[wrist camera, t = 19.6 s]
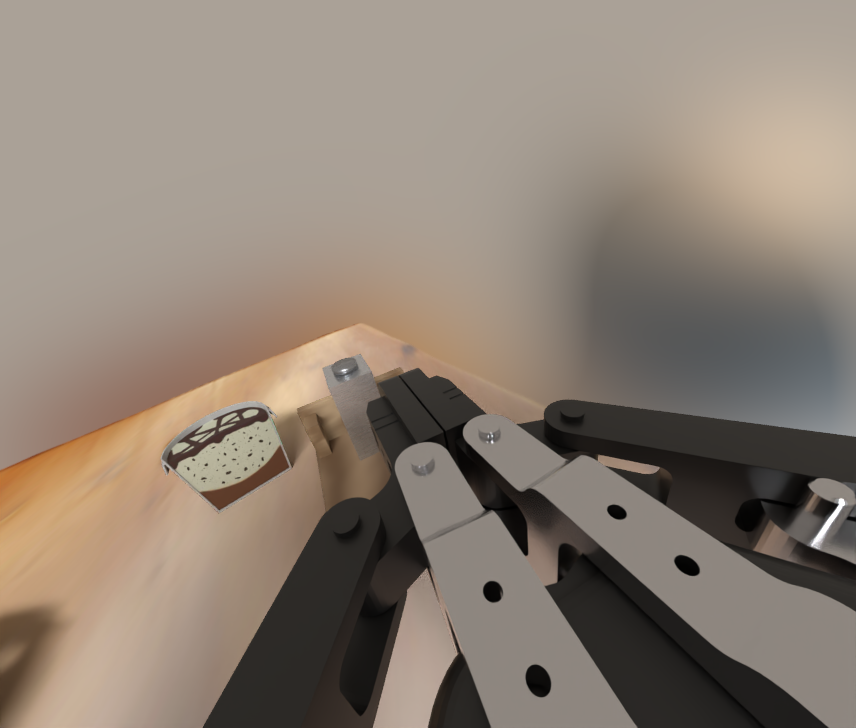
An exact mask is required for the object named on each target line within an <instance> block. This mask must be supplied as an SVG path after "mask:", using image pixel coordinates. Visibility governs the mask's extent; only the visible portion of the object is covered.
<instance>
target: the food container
mask: <svg viewBox="0 0 856 728" xmlns="http://www.w3.org/2000/svg"><path fill="white" fill-rule="evenodd" d="M270 413H271V414H273V415H274V416H275V417H276V418H277V416H276V415H275V413H274V412H273V411H272V410H271V409H270V408H269V407H267V406H265V405H264V404H263V403H261V402H255V401H250V402H242V403H238V404H234V405H231V406H228V407H225V408H222V409H220V410H218V411H215V412H213V413H211V414H209V415H207V416H205V417H203V418H202V419H200V420H198V421H196V422H195V423H193V424H192V425H190V426H189V427H187V428H186V429H185V430H183V431H182V432H181V433H180V434H178V435H177V436H176V437H175V438H174V439H173V440H172V441H171V442H170V443H169V444H168V445H167V447H166V448H165V450H164V451H163V453H162V456H161V460H162V467H163V469H164V471H165V474H166V475H168V473H169V469H171V470H172V471H173V472H174V473H175V474H176V475H177V476H178V477H179V478H180V479H182V480H183V481H184V482H185V483H186V484H187V485H188V486H189V487H190V488H191V489H193V490H194V491H195V492H196V493H197V494H198V495H199V496H200V497H201V498H202V499H204V500H205V501H206V502H207V503H208V504H209V505H210V506H211V507H212V508H214V509H215V510H216V511H217V512H218V513H220V512H222V511H224V510H225V509H227V508H228V507H230V506H232V505H233V504H235V503H237V502H238V501H240V500H241V499H243V498H245V497H246V496H248V495H250V494H251V493H253V492H254V491H256V490H258V489H259V488H261V487H263V486H264V485H266V484H267V483H269V482H271V481H272V480H274V479H275V478H277V477H279V476H280V475H282V474H284V473H285V472H287V471H288V470H290V469H292V467H291V464H290V462H289V459H288V457H287V454H286V452H285V449H284V447H283V444H282V442H281V440H280V437H279V435H278V432H277V430H276V427H275V425H274V422H273V420H272V417H271V415H270Z"/></svg>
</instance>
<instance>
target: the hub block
mask: <svg viewBox="0 0 856 728" xmlns="http://www.w3.org/2000/svg"><path fill="white" fill-rule="evenodd" d="M323 372H324V375H325V378H326V382H327V385H328V388H329V391H330V393H331V395H332V397H333V400H334V402H335V404H336V406H337V409H338V411H339V413H340V416H341V418H342V420H343V422H344V425H345V427H346V429H347V432H348V434H349V436H350V438H351V441H352V443H353V445H354V448H355V450H356V452H357V454H358V457H359V459H360V461H361V460H363V459H365V458H367V457H369V456H372V455H374V454H376V453H378V452H380V451H379V449H378V447H377V444H376V441H375V438H374V435H373V432H372V429H371V426H370V423H369V420H368V417H367V414H366V411H367V406H368V402H370V401H373V400H375V399H378V398H380V394H379V391H378V388H377V385H376V383H375V380H374V377H373V374H372V371H371V370H370V368H369V367H368V365H367V364H366V362H365V360H364V359H363V357H362V356H361V354H359V355H356V356H353V357H351V358H345V359H341V360H339V361H337V362H335V363H334V364H332V365H329V366H327V367H324V368H323Z"/></svg>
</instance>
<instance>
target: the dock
mask: <svg viewBox="0 0 856 728" xmlns="http://www.w3.org/2000/svg"><path fill="white" fill-rule="evenodd" d="M403 373H404V372H403V370H402V369H401V368H400V367H399V368H397V369H394V370H392V371H389V372H387V373H384V374H382V375H379V376H377V377H374V380H375V383H376V385H377V383H379V382H382V381H384V380H387V379H390V378H392V377H395V376H398V375H400V374H403ZM377 388H378V386H377ZM378 391H379V390H378ZM297 411H298V415H299V417H300V418H301V420H302V422H303V424H304V426H305V430H306V432H307V434H308V436H309V438H310V440H311V442H312V444H313V446H314V447H315V449H316V455H317V461H318V467H319V473H320V479H321V485H322V491H323V497H324V503H325V509H326V512H327V511H328V510H329V509H330V508H331V507H333V506H334V505H335V504H337V503H339V502H341V501H343V500H345V499H349V498H354V497H362V498H367V499H369V500H370V499H372V498H373V497H374V496H375V495H376V494H378V493H379V492H380V491H381V490H382V489H383V488H384V486H385V485H386V484H387V482H388V480H389V478H390V473H389V471H388V468H387V466H386V464H385V462H384V460H383V457H382V456H381V453H380V452H378V453H376V454H374V455H372V456H369V457H367V458H365V459H363V460H361V461H360V459H359V457H358V454H357V452H356V450H355V448H354V445H353V443H352V441H351V438H350V436H349V434H348V432H347V429H346V427H345V425H344V422H343V420H342V418H341V416H340V413H339V411H338V409H337V406H336V404H335V402H334V400H333V397H332V395H330V396H327V397H325V398H322V399H320V400H317V401H315V402H312V403H310V404H307V405H305V406H302V407H300V408H298V409H297Z"/></svg>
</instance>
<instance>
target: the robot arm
mask: <svg viewBox="0 0 856 728" xmlns="http://www.w3.org/2000/svg"><path fill="white" fill-rule="evenodd" d="M377 386H378V390H379V394H380V398H378V399H375V400H373V401H370V402H368V406H367V411H366V414H367V417H368V420H369V423H370V426H371V429H372V432H373V435H374V438H375V441H376V444H377V447H378V449H379V451H380V453H381V456H382V457H383V460H384V462H385V464H386V466H387V468H388V471H389V473H390V478H389V480H388V482H387V484H386V485H385V486H384V488H383V489H382V490H381V491H380V492H379V493H378V494H376V495H375V496H374V497H373V498H372V499H370V500H369V499H367V498H362V497H354V498H349V499H345V500H343V501H341V502H339V503H337V504H335V505H334V506H333V507H331V508H330V509H329V510H328V511H327V512H326V513H325V514H324V515H323V516H322V518H321V519H320V521H319V523H318V524H317V526H316V528H315V530H314V531H313V533H312V535H311V537H310V539H309V540H308V542H307V544H306V546H305V547H304V549H303V551H302V553H301V554H300V556H299V558H298V560H297V562H296V563H295V565H294V567H293V569H292V570H291V572H290V574H289V576H288V577H287V579H286V581H285V583H284V585H283V586H282V588H281V590H280V592H279V593H278V595H277V597H276V599H275V600H274V602H273V604H272V606H271V608H270V609H269V611H268V613H267V615H266V616H265V618H264V620H263V622H262V623H261V625H260V627H259V629H258V631H257V632H256V634H255V636H254V638H253V639H252V641H251V643H250V645H249V646H248V648H247V650H246V652H245V654H244V655H243V657H242V659H241V661H240V662H239V664H238V666H237V668H236V669H235V671H234V673H233V675H232V677H231V678H230V680H229V682H228V684H227V685H226V687H225V689H224V691H223V692H222V694H221V696H220V698H219V700H218V701H217V703H216V705H215V707H214V708H213V710H212V712H211V714H210V715H209V717H208V719H207V721H206V723H205V724H204V726H203V728H373V724H374V721H375V717H376V713H377V709H378V705H379V701H380V698H381V694H382V690H383V686H384V682H385V678H386V674H387V671H388V667H389V663H390V659H391V655H392V651H393V648H394V644H395V640H396V636H397V632H398V628H399V624H400V621H401V617H402V613H403V609H404V605H405V601H406V596H407V589H408V588H409V587H410V586H411V585H412V584H413V583H414V582H415V580H416V579H417V578H418V577H419V576H420V575H421V574H422V573H423V571H424V570H425V569H426V568H427V571H428V574H429V577H430V580H431V582H432V585H433V588H434V591H435V594H436V597H437V599H438V602H439V605H440V608H441V611H442V614H443V616H444V619H445V622H446V625H447V628H448V631H449V634H450V637H451V640H452V643H453V646H454V649H455V652H456V655H457V656H456V657H455V659H454V660H453V662H452V664H451V665H450V667H449V669H448V670H447V672H446V674H445V676H444V679H443V681H442V683H441V685H440V687H439V690H438V693H437V696H436V699H435V702H434V705H433V708H432V712H431V717H430V721H429V725H428V728H856V437H852V436H845V435H837V434H830V433H822V432H814V431H807V430H799V429H791V428H784V427H776V426H769V425H761V424H753V423H746V422H738V421H730V420H723V419H715V418H708V417H700V416H692V415H684V414H677V413H670V412H662V411H654V410H647V409H639V408H632V407H624V406H616V405H609V404H600V403H593V402H585V401H578V400H560V401H556V402H554V403H552V404H550V405H549V406H547V408H546V409H545V411H544V420H539V421H534V422H528V423H522V424H515V423H514V422H512V421H511V420H509V419H508V418H506V417H504V416H501V415H496V414H486V413H485V412H484V411H483V410H482V409H481V408H479V407H478V406H477V405H476V404H475V403H474V402H473V401H472V400H471V399H470V398H468V397H467V396H466V395H465V394H463V392H462V391H461V390H460V389H458V388H457V387H456V386H455V385H454V384H453V383H452V382H451V381H450V380H448V379H445V378H442V377H439V376H434V377H432V378H428V377H427V376H426V375H425V374H424V373H423V372H422V371H421V370H420V369H419V368H416V369H413V370H411V371H408V372H405V373H403V374H400V375H398V376H395V377H392V378H390V379H387V380H384V381H382V382H379V383H377ZM598 454H599V455H604V456H609V457H614V458H619V459H624V460H629V461H634V462H639V463H644V464H649V465H654V466H658V467H660V469H659V470H658V471H657V472H656V473H653V474H641V473H636V472H631V471H627V470H622V469H617V468H613V467H608V466H604V465H603V464H601V463H600V462H598Z"/></svg>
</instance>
